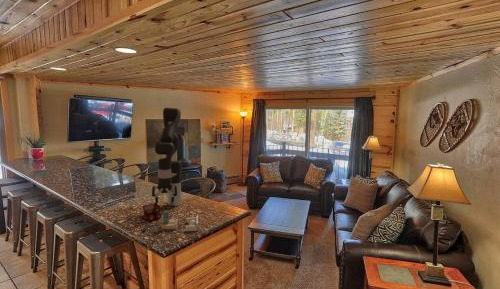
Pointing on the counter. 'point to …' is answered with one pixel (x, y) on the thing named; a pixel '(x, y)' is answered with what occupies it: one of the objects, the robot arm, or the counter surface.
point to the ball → (192, 222)
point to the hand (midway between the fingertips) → (164, 202)
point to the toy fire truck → (152, 211)
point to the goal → (192, 227)
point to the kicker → (168, 221)
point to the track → (155, 225)
